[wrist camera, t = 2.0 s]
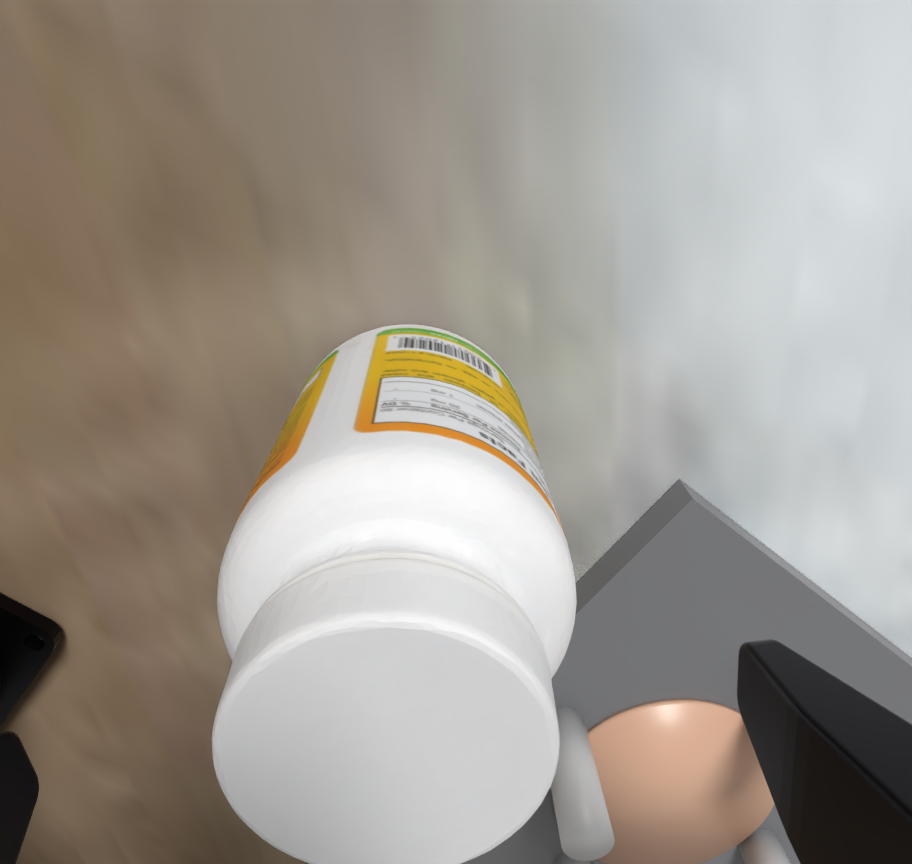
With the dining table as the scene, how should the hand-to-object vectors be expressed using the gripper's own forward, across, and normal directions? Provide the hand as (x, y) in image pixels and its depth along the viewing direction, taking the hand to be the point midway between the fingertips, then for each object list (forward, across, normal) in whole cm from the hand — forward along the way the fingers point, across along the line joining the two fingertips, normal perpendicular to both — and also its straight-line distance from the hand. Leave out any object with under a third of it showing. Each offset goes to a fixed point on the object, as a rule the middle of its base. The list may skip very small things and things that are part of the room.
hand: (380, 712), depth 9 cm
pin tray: (+9, -6, +11) cm, 15 cm away
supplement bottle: (+9, 0, 0) cm, 9 cm away
